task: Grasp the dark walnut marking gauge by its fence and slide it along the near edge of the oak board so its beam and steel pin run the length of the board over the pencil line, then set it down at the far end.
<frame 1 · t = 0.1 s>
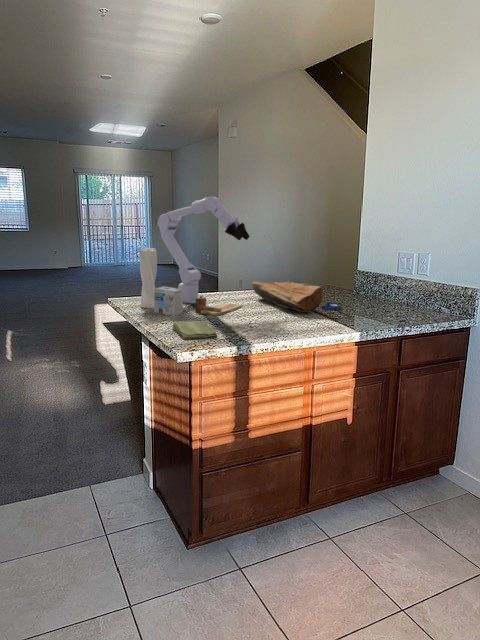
hand: (244, 238, 210), 32 cm above the counter, tool tilted 50°, fingers open, 7 cm apart
skyscraper: (148, 307, 213), on the counter
log: (284, 306, 227), on the counter
washcloth: (194, 334, 170), on the counter
light bulb box: (168, 313, 201), on the counter
board: (222, 310, 212), on the counter
gauge: (200, 311, 207), on the counter
bar clamp: (339, 314, 216), on the counter
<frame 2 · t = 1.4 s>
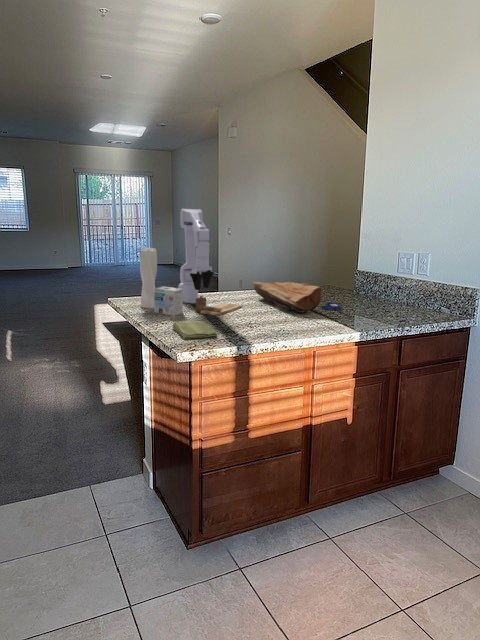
hand: (201, 288, 205), 10 cm above the counter, tool pointing down, fingers open, 7 cm apart
nothing on the counter moved.
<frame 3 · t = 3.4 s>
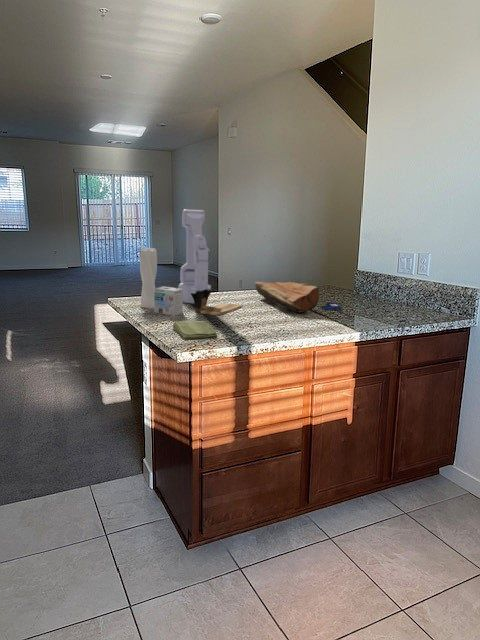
hand: (200, 307, 207), 2 cm above the counter, tool pointing down, fingers closed on gauge, 4 cm apart
gauge: (200, 311, 207), on the counter, touching gripper
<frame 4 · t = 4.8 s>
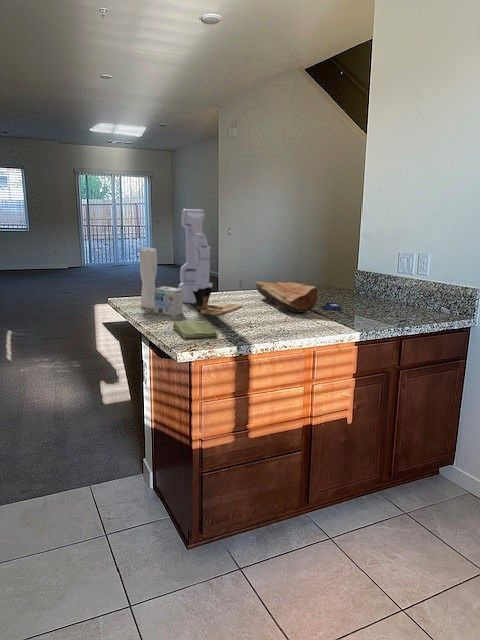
hand: (202, 305, 208), 2 cm above the counter, tool pointing down, fingers closed on gauge, 4 cm apart
gauge: (201, 309, 208), on the counter, touching gripper
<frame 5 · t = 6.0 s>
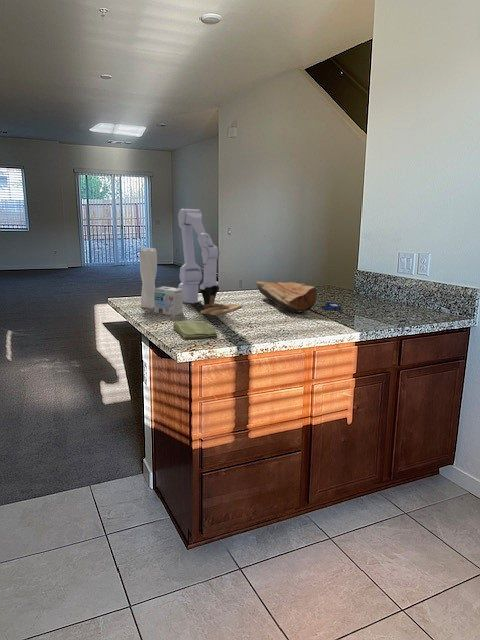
hand: (209, 303, 214), 2 cm above the counter, tool pointing down, fingers closed on gauge, 4 cm apart
gauge: (208, 308, 214), on the counter, touching gripper
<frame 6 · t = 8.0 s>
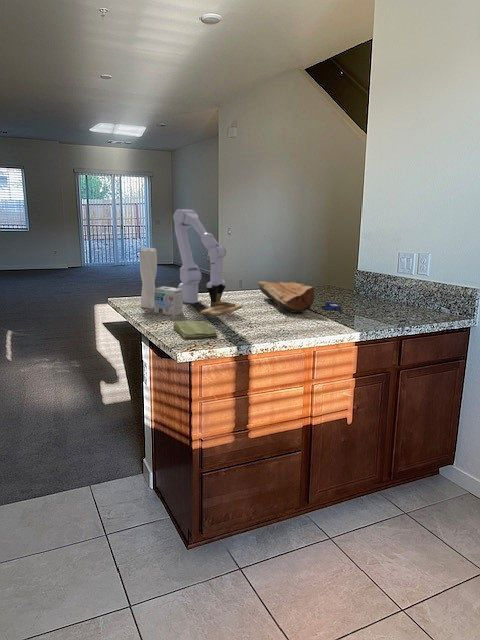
hand: (215, 301, 219), 2 cm above the counter, tool pointing down, fingers closed on gauge, 4 cm apart
gauge: (215, 306, 220), on the counter, touching board, gripper
when the fingers open (2 cm above the counter, at t = 9.0 s): gauge stays where it is, on the counter.
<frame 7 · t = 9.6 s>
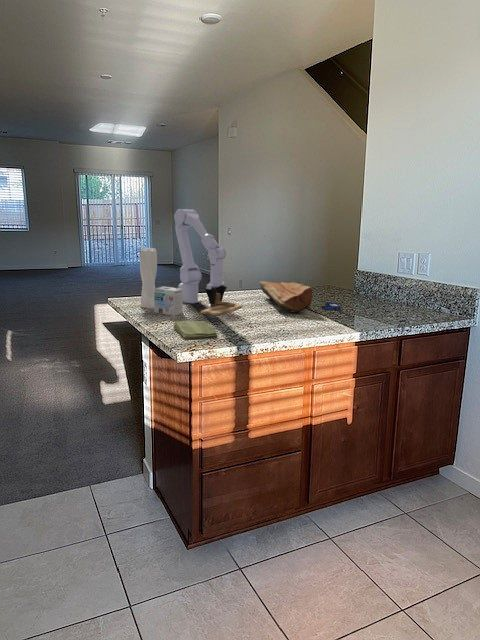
hand: (215, 302, 219), 2 cm above the counter, tool pointing down, fingers open, 7 cm apart
gauge: (215, 306, 220), on the counter
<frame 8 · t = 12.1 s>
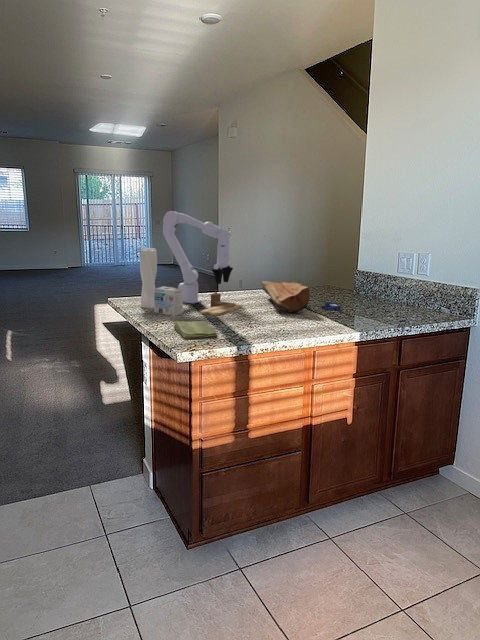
hand: (222, 282, 226), 10 cm above the counter, tool pointing down, fingers open, 7 cm apart
at the end: gauge 0.1 cm from the target spot, on the counter; gauge tilted 0°; the gripper is holding nothing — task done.
